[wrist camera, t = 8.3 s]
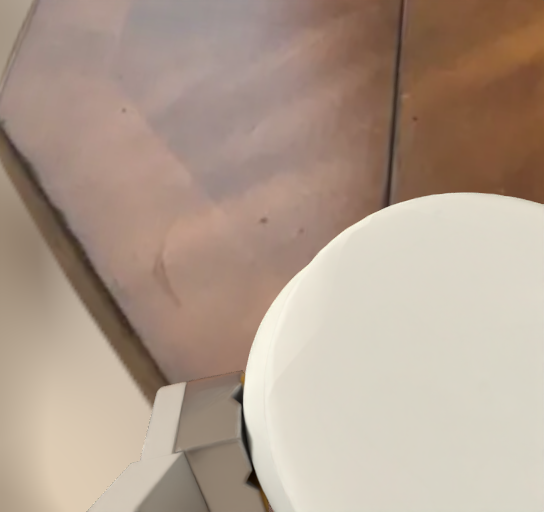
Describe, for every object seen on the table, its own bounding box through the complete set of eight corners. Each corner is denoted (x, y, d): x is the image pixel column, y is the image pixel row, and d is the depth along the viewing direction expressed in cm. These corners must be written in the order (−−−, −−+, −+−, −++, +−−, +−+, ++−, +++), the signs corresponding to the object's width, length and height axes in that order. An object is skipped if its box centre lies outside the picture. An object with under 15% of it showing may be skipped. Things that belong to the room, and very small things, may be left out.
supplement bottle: (281, 317, 14) (199, 142, 5) (461, 310, 14) (716, 103, 5) (284, 514, 12) (170, 764, 3) (492, 516, 12) (1005, 822, 3)
